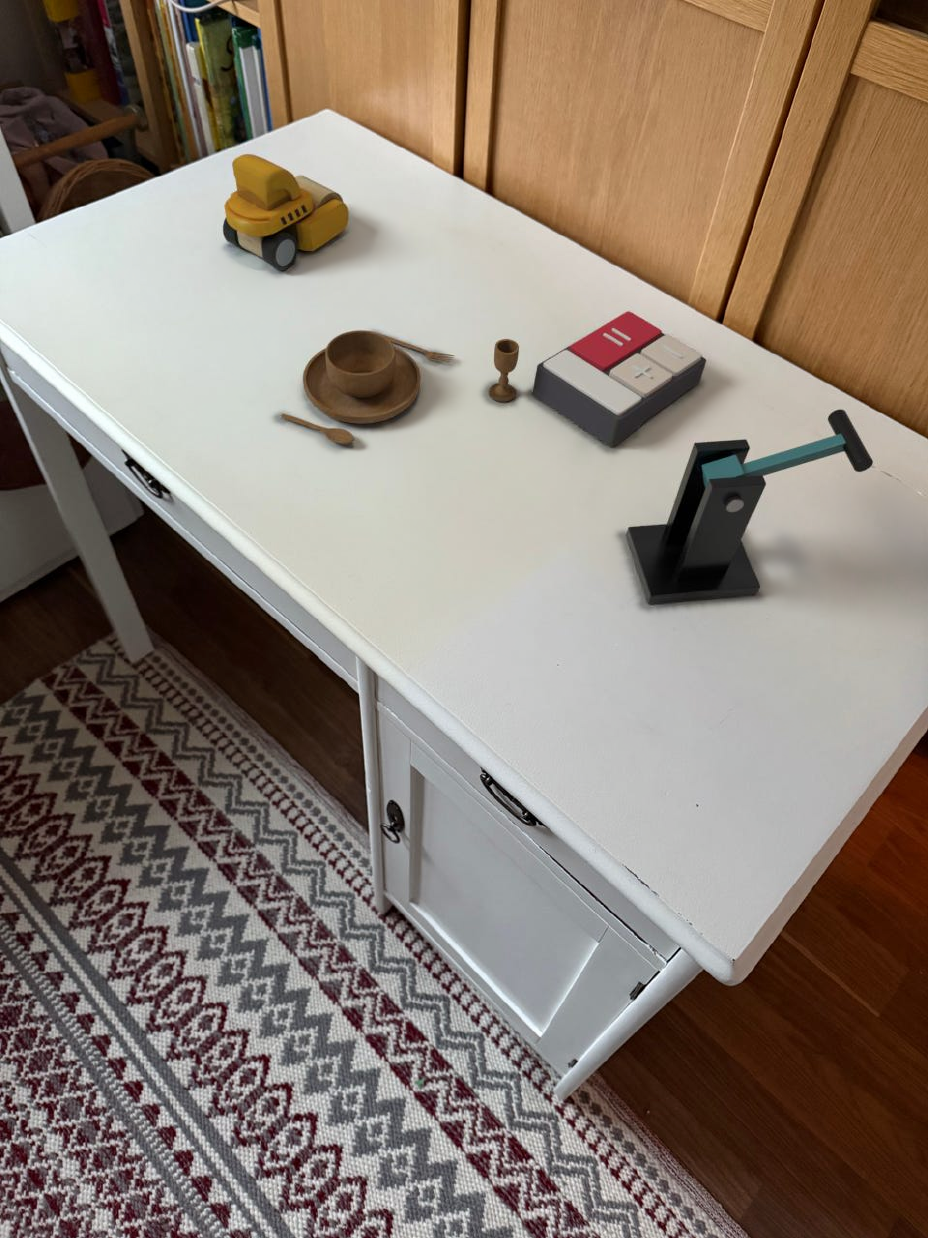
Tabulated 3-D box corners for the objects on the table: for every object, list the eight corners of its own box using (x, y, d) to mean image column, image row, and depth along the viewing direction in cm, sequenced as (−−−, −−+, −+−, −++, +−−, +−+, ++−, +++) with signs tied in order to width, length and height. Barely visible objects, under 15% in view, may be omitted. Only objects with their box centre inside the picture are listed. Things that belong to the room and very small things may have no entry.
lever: (844, 423, 74) (846, 402, 72) (872, 472, 71) (874, 452, 69) (697, 468, 76) (695, 449, 74) (717, 518, 73) (715, 500, 71)
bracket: (729, 527, 85) (773, 423, 74) (756, 594, 80) (807, 495, 70) (625, 535, 84) (655, 431, 73) (647, 604, 79) (683, 504, 69)
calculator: (710, 353, 94) (621, 414, 87) (699, 386, 97) (611, 448, 90) (628, 304, 98) (536, 358, 91) (619, 338, 101) (530, 393, 94)
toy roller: (356, 229, 110) (351, 143, 102) (270, 282, 103) (257, 194, 95) (303, 202, 113) (294, 116, 105) (217, 252, 106) (199, 163, 98)
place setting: (359, 324, 100) (357, 276, 95) (522, 387, 95) (528, 340, 90) (266, 418, 91) (258, 371, 86) (441, 493, 86) (443, 447, 81)
